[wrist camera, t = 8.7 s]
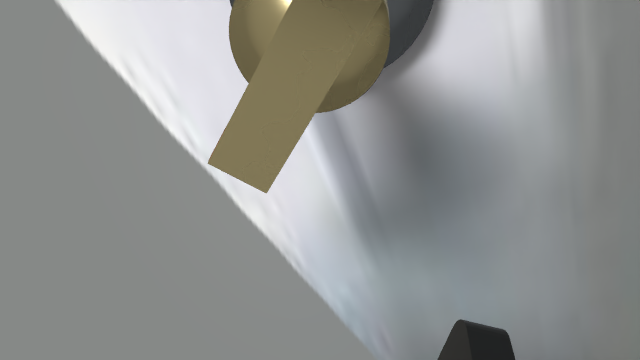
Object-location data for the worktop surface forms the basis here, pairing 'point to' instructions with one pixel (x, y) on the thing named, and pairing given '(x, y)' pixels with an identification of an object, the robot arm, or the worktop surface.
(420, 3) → the round metal flange
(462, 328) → the robot arm
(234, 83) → the worktop surface
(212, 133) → the worktop surface
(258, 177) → the door handle
